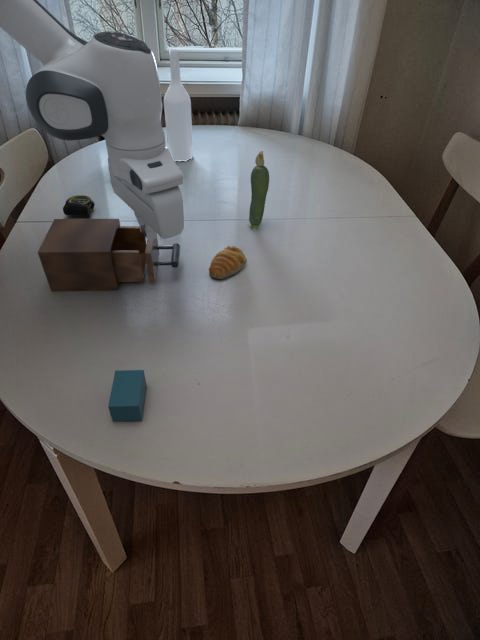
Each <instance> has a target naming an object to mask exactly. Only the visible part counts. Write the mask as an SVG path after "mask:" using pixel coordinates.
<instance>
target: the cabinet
mask: <svg viewBox="0 0 480 640" xmlns="http://www.w3.org/2000/svg"><path fill="white" fill-rule="evenodd" d="M118 226H121V220H120V218H54V219H53V221H52V223H51V225H50V227H49V229H48V231H47V233H46V234H45V237H44V238H43V241H42V243H41V245H40V247H39V248H38V250H37V255H38V258H39V261H40V264H41V266H42V270H43V272H44V274H45V278H46V280H47V284H48V286H49V289H50V291H51V292H92V291H93V292H94V291H95V292H96V291H119V287H120V283H121V282H117V279H116V274H115V270H114V265H113V260H112V256H111V251H112V247H113V244H114V240H115V237H116V233H117V230H118Z"/></svg>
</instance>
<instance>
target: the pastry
mask: <svg viewBox="0 0 480 640" xmlns="http://www.w3.org/2000/svg"><path fill="white" fill-rule="evenodd" d="M247 262H248V259H247V258H246V255H245V254H244V252H243V250H242V249H240V248H239V247H238V246H236V245H235V246H233V245H232V246H230V245H228V246H227V247H224V249H222V250H221V251H219V252H218V253H216V254H215V255H214V256H213V258H212V259H211V262H210V265H209V268H208V272H209V276H210V277H212V278H214V279H219V280H223V279H227V278H228V277H230V276H234V275H236V273H238V272H239V271H240V270H242V269H243V268H244V267H245V265H247Z"/></svg>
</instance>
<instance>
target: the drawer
mask: <svg viewBox="0 0 480 640" xmlns="http://www.w3.org/2000/svg"><path fill="white" fill-rule="evenodd" d="M160 250H171V257H170V258H171V259H170V261H159V259H160ZM180 253H181V245H180V243H178V242H174V243H173V244H172V245H159V239H158V236H157V237H156V238H155V239H152V240H148V239H147V238H146V237H145V236H144V235H143V234H142V233H141V232H140V226H139V225H126V226H125V225H120V226H118V230H117V233H116V237H115V240H114V244H113V247H112V251H111V256H112V260H113V265H114V270H115V274H116V279H117V282H120V283H128V282H129V283H131V282H133V283H135V282H137V283H139V282H142V283H143V282H144V279H145V274H146V271H147V277H148V284H149V285H156V280H157V274H158V266H161V267H162V266H170V267H172V268H174V269H176V268H178V267H179V266H180V265H179V264H180Z"/></svg>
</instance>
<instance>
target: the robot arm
mask: <svg viewBox="0 0 480 640" xmlns="http://www.w3.org/2000/svg"><path fill="white" fill-rule="evenodd" d="M0 29H2V30H3V31H4V32H5V33H6V34H7V35H8V36H10V37H11V38H12V39H13V40H14V41H16V42H17V43H18V44H19V45H20V46H21V47H22V48H24V49H25V50H26V51H27V52H28V53H30V54H31V55H32V56H33V57H34V58H35V59H37V60H38V61H39V62H40V63H41V64H42V65H43V66H42V67H40V68H39V69H38V70H37V71H36V72H34V73H33V75H32V76H31V77H30V78H29V80H28V82H27V84H26V87H25V101H26V105H27V108H28V111H29V113H30V115H31V116H32V118H33V120H34V121H35V123H36V124H37V125H38V126H39V127H40V128H41V129H42V130H43V131H44V132H45V133H47V134H48V135H49V136H51V137H53V138H56V139H58V140H62V141H66V142H67V141H80V140H89V139H94V138H98V137H103V138H104V142H105V145H106V152H107V164H108V165H107V166H108V174H109V181H110V186H111V188H112V191H113V193H114V194H115V195H116V196H117V197H118V198H120V200H122V202H123V203H125V204H126V205H127V206H128V207H129V208H130V209H131V210H132V212H133V213H134V216H135V218H136V221H137V223H138V226H140V232H141V233H142V234H143V235H144V236H145V238H146V240H147V239H148V240H152V239H155V238H156V237H157V238H158V237H160V238H161V239H162V240H167V239H170V238H173V237H176V236H179V235H181V234H182V232H183V231H184V229H185V212H184V211H185V210H184V209H185V208H184V198H183V193H182V190H181V188H180V186H181V185H183V184H184V175H183V171H182V170H181V168H180V167H179V166H178V164H177V162H175V161H174V160H173V158H172V157H171V155H170V152H169V150H168V147H167V141H166V134H165V132H164V129H163V125H162V113H163V98H162V90H161V83H160V77H159V71H158V67H157V63H156V59H155V56H154V53H153V51H152V49H151V47H150V46H149V45H148V44H147V43H146V42H145V41H144V40H142V39H140V38H139V37H136V36H134V35H130V34H128V33H124V32H120V31H119V32H118V31H102V32H97V33H95V34H94V35H93V36H92V37H91V39H90V40H89V41H86V40H84V39H83V38H81V37H79V36H77V35H76V34H74V33H73V32H72V31H70V30H69V29H68V28H67V27H66V26H65V25H64V24H63V23H61V21H60V20H59V19H57V18H56V17H55V16H54V14H52V12H50V11H49V10H48V9H47V8H46V7H45V6H44V5H43V4H42V3H40V2H39V1H38V0H0Z"/></svg>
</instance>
